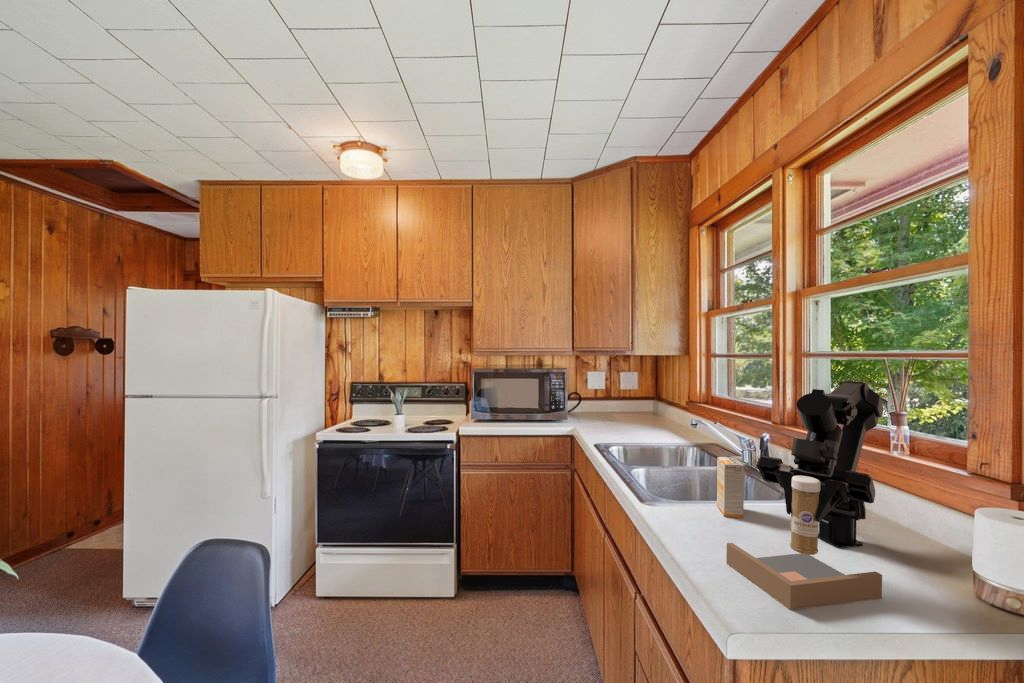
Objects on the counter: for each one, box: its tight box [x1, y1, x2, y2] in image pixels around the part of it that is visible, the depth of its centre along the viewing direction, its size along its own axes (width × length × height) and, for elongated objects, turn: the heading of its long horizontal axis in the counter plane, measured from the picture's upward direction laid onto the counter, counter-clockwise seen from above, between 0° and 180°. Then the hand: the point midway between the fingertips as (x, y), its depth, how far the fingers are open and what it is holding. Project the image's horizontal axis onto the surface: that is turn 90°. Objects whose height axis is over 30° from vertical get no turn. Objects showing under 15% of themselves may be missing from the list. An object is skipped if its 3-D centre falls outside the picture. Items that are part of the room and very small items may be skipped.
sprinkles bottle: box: [789, 476, 820, 556], centre depth 89 cm, size 5×5×14 cm
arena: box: [726, 542, 883, 611], centre depth 88 cm, size 18×16×4 cm
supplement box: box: [716, 456, 745, 519], centre depth 122 cm, size 8×5×13 cm, turn 168°
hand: (802, 516), depth 88 cm, fingers closed on sprinkles bottle, 4 cm apart
